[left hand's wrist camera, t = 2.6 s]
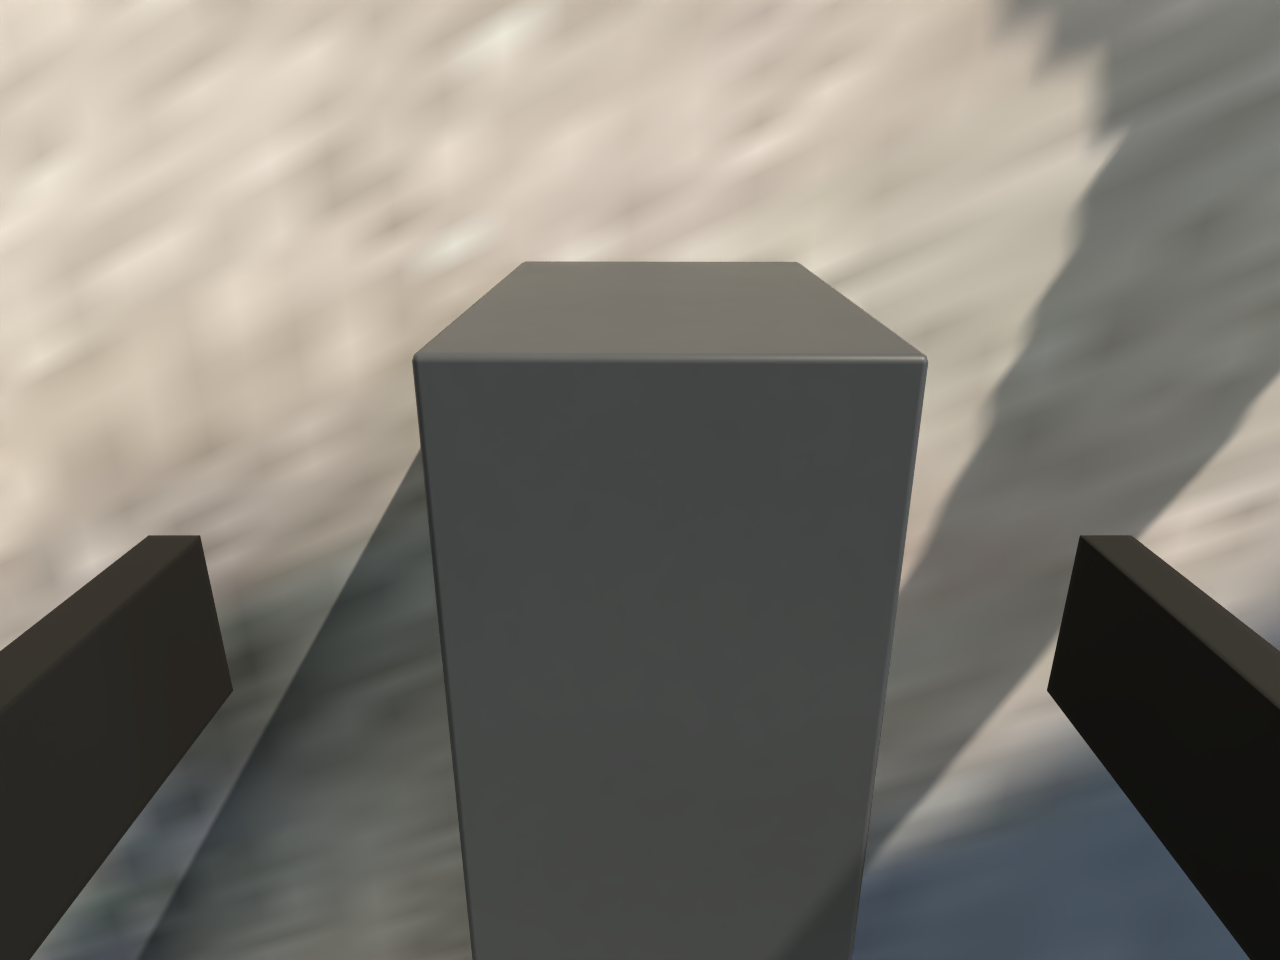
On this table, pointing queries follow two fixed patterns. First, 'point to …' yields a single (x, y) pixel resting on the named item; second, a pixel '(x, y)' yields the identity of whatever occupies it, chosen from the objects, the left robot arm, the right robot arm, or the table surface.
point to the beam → (666, 602)
